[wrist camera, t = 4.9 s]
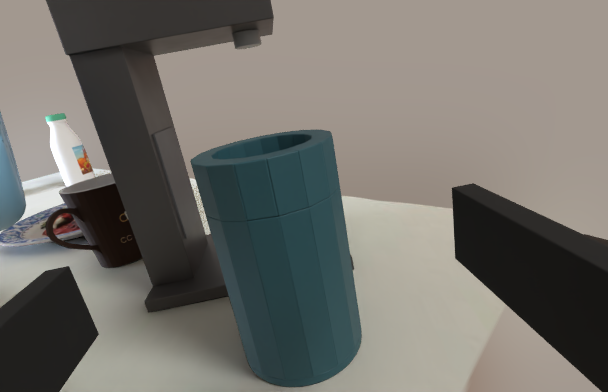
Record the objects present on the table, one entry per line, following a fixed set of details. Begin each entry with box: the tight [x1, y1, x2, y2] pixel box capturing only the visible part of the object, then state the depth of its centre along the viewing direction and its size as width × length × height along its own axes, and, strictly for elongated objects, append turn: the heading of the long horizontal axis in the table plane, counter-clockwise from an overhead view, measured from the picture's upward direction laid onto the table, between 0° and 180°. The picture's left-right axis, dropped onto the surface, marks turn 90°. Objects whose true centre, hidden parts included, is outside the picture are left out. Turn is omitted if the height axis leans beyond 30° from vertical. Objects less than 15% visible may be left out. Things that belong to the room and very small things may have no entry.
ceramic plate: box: [0, 203, 84, 246], centre depth 62 cm, size 26×26×3 cm
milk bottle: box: [45, 113, 95, 187], centre depth 98 cm, size 8×8×20 cm
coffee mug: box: [45, 173, 142, 268], centre depth 42 cm, size 12×9×10 cm
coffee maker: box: [46, 0, 354, 312], centre depth 33 cm, size 13×19×33 cm
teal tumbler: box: [191, 130, 362, 387], centre depth 23 cm, size 8×8×14 cm
